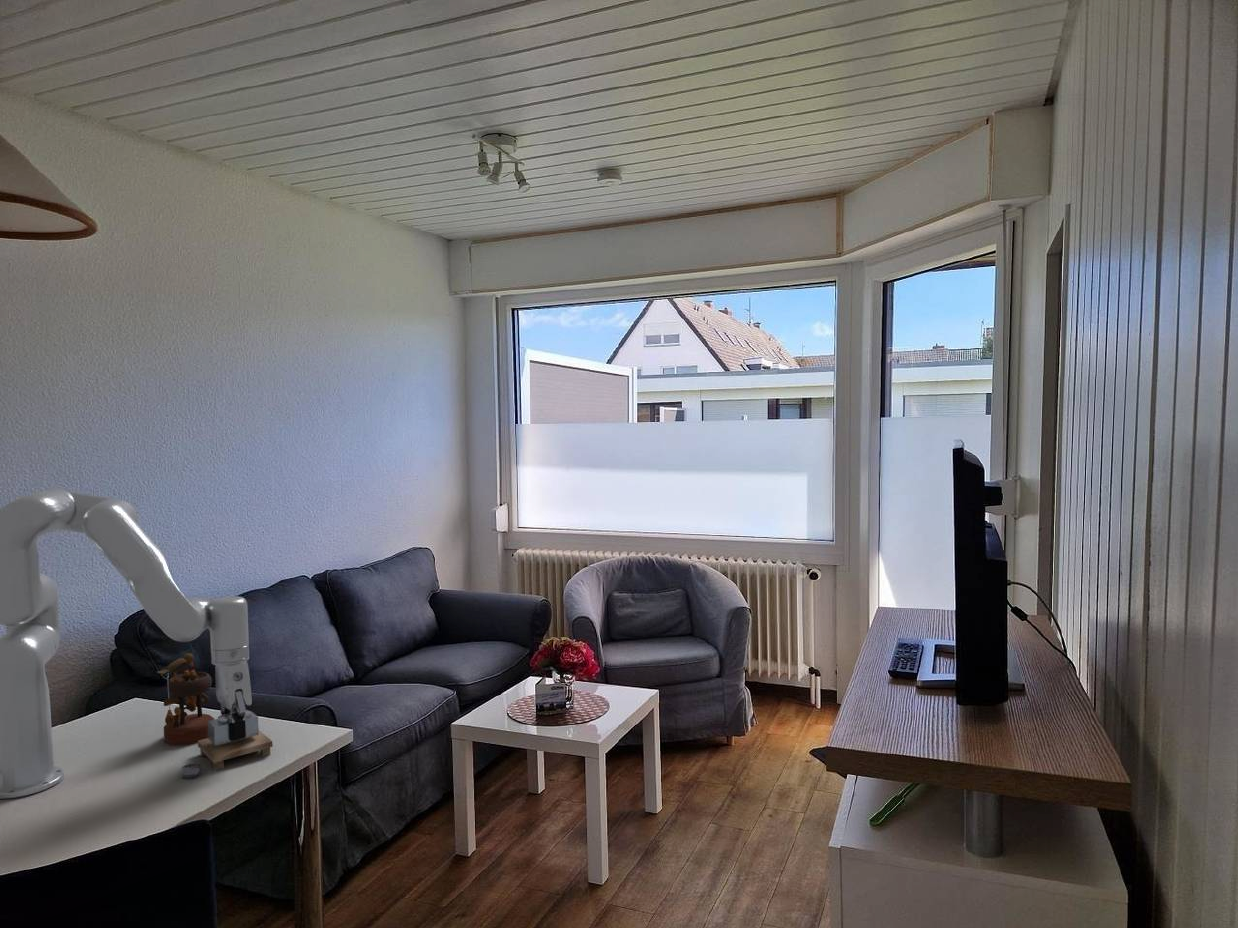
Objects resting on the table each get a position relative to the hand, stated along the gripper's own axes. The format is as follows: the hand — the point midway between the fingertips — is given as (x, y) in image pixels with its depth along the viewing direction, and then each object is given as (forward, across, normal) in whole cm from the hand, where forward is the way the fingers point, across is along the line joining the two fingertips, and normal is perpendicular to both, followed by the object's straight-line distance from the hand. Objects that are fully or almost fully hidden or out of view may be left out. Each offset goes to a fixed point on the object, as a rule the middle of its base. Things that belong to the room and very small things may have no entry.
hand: (233, 734), depth 177 cm
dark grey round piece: (+5, -5, +10) cm, 12 cm away
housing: (+1, 0, 0) cm, 1 cm away
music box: (+5, +19, +4) cm, 20 cm away
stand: (+5, 0, 0) cm, 5 cm away
